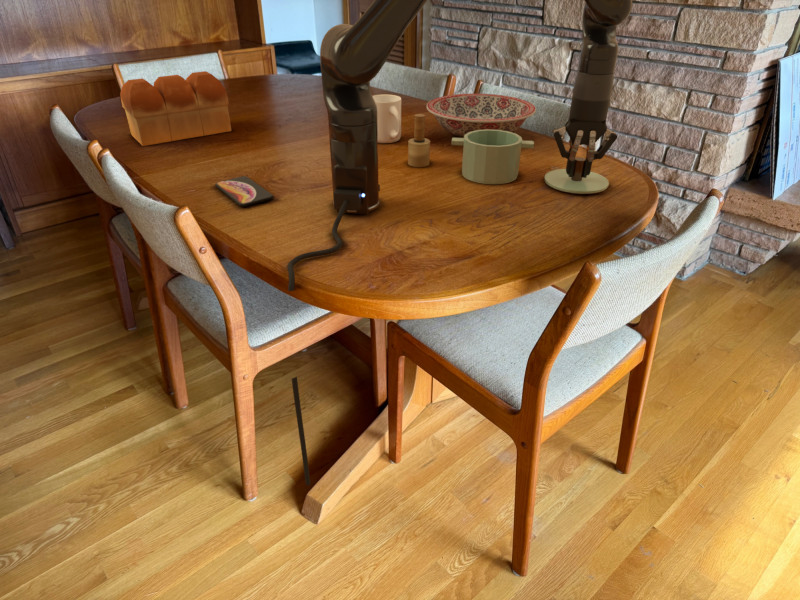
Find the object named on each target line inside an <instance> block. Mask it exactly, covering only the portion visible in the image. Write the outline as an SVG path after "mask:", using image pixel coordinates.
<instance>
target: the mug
mask: <svg viewBox="0 0 800 600" xmlns="http://www.w3.org/2000/svg"><path fill="white" fill-rule="evenodd" d="M372 96H373V99H374V101H375V103H376V106H377V124H378V144H392V143H396V142H398V141H400V139H401V137H402V97H401V96H399V95H397V94H396V95H395V94H374V95H372Z"/></svg>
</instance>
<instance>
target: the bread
mask: <svg viewBox="0 0 800 600" xmlns="http://www.w3.org/2000/svg"><path fill="white" fill-rule="evenodd" d="M119 93H120V94H119V95H120V101H121V107H122V108H123V109H124V111H125V115H126V119H127V123H128V127H129V131H130V135H131V136H132V137H133V138H134V139H135V140H136V141H137V142H138V143H139V144H140V145H141V146H142V147H145V146H151V145H157V144H163V143H169V142H175V141H181V140H187V139H193V138H198V137H204V136H209V135H211V136H212V135H216V134H221V133H227V132H232V126H231V118H230V112H229V104H230V101H229V97H228V93H227V90H226V88H225V86H224V85H223V84H222V82H221V81H220V79H218V78H217V77H216V76H215V75H213V74H212V73H210V72H208V71H196V72H195V71H194V72H191V73H190V74H189V75H188V76H187V77H186V78H184V77H183V76H181V75H179V74H172V75H162V76H158V77H157V78H156V79H155V80H154V82H153V84H151V83H150V81H148V80H146V79H144V78H143V77H142V78H135V79H128V80H127V81H125V82H124V84H123V85H122V86H121V89H120V92H119Z"/></svg>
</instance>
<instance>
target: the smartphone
mask: <svg viewBox="0 0 800 600" xmlns="http://www.w3.org/2000/svg"><path fill="white" fill-rule="evenodd" d="M215 187H216V188H217V189H218V190H220V191H221V192H222V193H223V194H225V195H226V196H227V197H228V198H230V200H232V201H233V202H234V203H236V204H237V205H238V206H239V207H241V208H242V207H243V208H244V207H245V208H246V207H249V206H253V205H256V204H260V203H263V202H269V201H271V200H273V199H274V194H272V193H271V192H269V191H268V190H267V189H265V188H263V187H262V186H261V185H259V184H258V183H257V182H255V181H254V180H252V179H251V178H249V177H248V176H246V175H242V176H237V177H233V178H230V179H225V180H221V181H218V182H216V183H215Z"/></svg>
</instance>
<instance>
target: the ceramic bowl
mask: <svg viewBox="0 0 800 600" xmlns="http://www.w3.org/2000/svg"><path fill="white" fill-rule="evenodd" d="M426 110H427V111H428V112H429V113H430V114H433V116H434V118H435V120H436V121H437V122H438V124H439V125H440V126H441V127H442V128H443V129H444V130H445V131H446V132H448V133H450V134H452V135H453V136H456V137H459V138H464V135H465V134H467V133H468V132H472V131H476V130H486V129H490V130H502V131H509V132H512V133H515V131H517V130H518V129H519V128H520V127H521V126H522V125H523V124H524V123H525V121H526V120H527V119H528V118H530V117H532V116H533V115H535V114H536V111H537V108H536V106H535V105H534V104H533V103H531V102H530V101H527V100H525V99H522V98H519V97H514V96H509V95H503V94H494V93H457V94H448V95H444V96H439V97H436V98H434V99H433V98H432V99H431V100H429V101H428V102H427V103H426Z"/></svg>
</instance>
